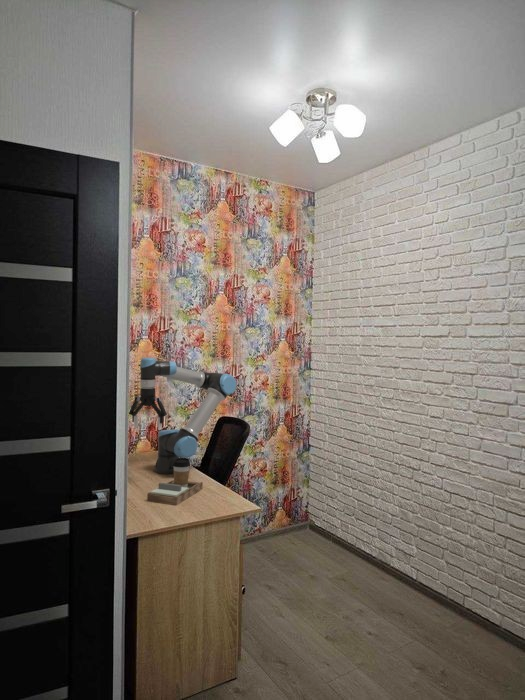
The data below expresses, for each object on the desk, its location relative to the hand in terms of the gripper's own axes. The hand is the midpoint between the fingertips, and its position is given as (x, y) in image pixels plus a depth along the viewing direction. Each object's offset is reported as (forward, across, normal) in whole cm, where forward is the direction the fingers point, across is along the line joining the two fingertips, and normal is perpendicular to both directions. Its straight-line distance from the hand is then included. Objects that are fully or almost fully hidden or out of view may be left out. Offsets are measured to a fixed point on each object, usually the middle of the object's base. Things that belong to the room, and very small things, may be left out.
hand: (147, 429), depth 249 cm
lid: (+24, +22, -21) cm, 39 cm away
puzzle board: (+28, +23, -15) cm, 39 cm away
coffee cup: (+27, +23, -10) cm, 37 cm away
